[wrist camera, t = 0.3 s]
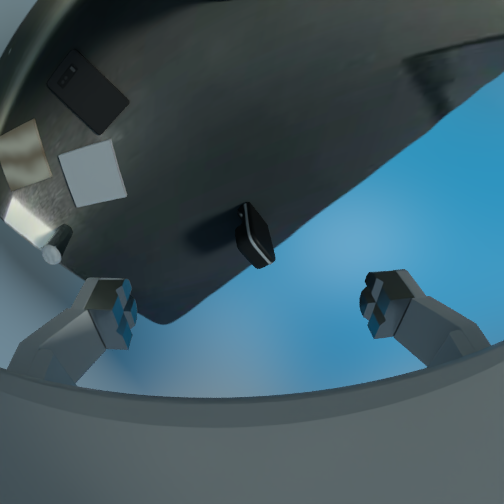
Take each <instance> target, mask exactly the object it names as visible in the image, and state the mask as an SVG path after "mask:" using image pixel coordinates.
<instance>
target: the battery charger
mask: <svg viewBox="0 0 504 504" xmlns="http://www.w3.org/2000/svg"><path fill="white" fill-rule="evenodd" d="M237 214H238V216H239V217H240V218H241V220H242V224H241V225H240V226H239V227H237V228H236V230H235V237H236V243H237V247H238V249H239V251H240V252H241V253H242V254H243V255H244V256H245V257H246V259H247V260H248V261H249V262H250V263H251V264H252V265H253V266H254V267H255V268H257V269H260V268H263V267H265V266H267V265H269V264H272V263H273V262H274V261H275V254H274V249H273V245H272V241H271V237H270V234H269V229H268V225H267V224H266V223H265V221H264V220H263V219H262V217H261V216H260V215H259V213H258V212H257V211H256V210H255V208H254V207H253V206H252V205H251V203H250V202H247V203H245V204H244V205H243V206H241V207H240V208H239V209H238V211H237Z"/></svg>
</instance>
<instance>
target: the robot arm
mask: <svg viewBox="0 0 504 504" xmlns="http://www.w3.org/2000/svg"><path fill="white" fill-rule="evenodd" d="M365 283H366V285H367V287H366V288H365V289H364V290H363V291H362V292H361V295H360V310H361V313H362V315H363V317H365V318H366V319H367V320H369V322H368V328H369V330H370V332H371V334H372V336H373V338H374V339H378V338H386V337H392V336H394V338H395V339H396V340H397V341H398V342H400V343H401V344H402V345H403V346H404V347H405V348H407V349H408V350H409V351H410V352H411V353H412V354H413V355H415V356H416V357H417V358H418V359H419V360H420V361H422V362H423V363H424V364H425V365H426V366H427V368H425V369H421V370H418V371H414V372H410V373H406V374H402V375H398V376H394V377H390V378H386V379H381V380H377V381H372V382H367V383H362V384H356V385H351V386H346V387H340V388H334V389H326V390H319V391H312V392H304V393H295V394H285V395H272V396H258V397H237V398H236V397H235V398H183V397H162V396H147V395H136V394H126V393H118V392H109V391H102V390H95V389H89V388H82V387H77V385H76V384H75V383H76V382H77V381H78V380H79V379H80V378H81V377H82V376H83V375H84V373H85V372H86V371H87V370H88V369H89V368H90V367H91V366H92V365H93V363H95V361H96V360H97V359H98V358H99V357H100V356H101V355H102V354H103V353H104V352H105V350H106V349H120V350H128V349H129V345H130V341H131V338H132V333H131V330H130V329H131V328H132V327H133V326H135V324H136V320H137V305H136V301H135V298H134V297H132V296H131V295H130V292H131V289H132V287H131V284H130V281H129V280H128V279H123V278H88V279H86V281H85V283H84V284H83V286H82V288H81V290H80V292H79V293H78V295H77V297H76V299H75V301H74V303H73V305H72V307H71V309H65V310H64V311H63V312H61V313H60V314H58V315H57V316H56V317H54V318H53V319H51V320H50V321H49V322H47V323H46V324H45V325H43V326H42V327H41V328H39V329H38V330H36V331H35V332H34V333H32V334H31V335H30V336H28V337H27V338H26V339H24V340H23V341H22V342H20V344H19V346H18V347H17V349H16V352H15V354H14V356H13V358H12V360H11V362H10V364H9V366H8V368H7V370H6V369H3V368H0V504H504V341H502V342H499V343H497V344H495V345H492V346H491V345H490V344H489V342H488V340H487V339H486V337H485V336H484V334H483V333H482V331H481V330H480V328H479V327H478V326H477V324H476V323H474V322H472V321H471V320H469V319H467V318H466V317H464V316H462V315H461V314H459V313H457V312H456V311H454V310H452V309H451V308H449V307H447V306H446V305H444V304H442V303H440V302H439V301H437V300H435V299H434V298H432V297H430V296H426V295H425V294H424V292H423V291H422V290H421V288H420V287H419V286H418V284H417V283H416V282H415V280H414V279H413V278H412V276H411V275H410V274H409V272H408V271H406V270H405V269H402V270H393V271H381V272H369V273H368V275H367V276H366V279H365Z"/></svg>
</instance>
